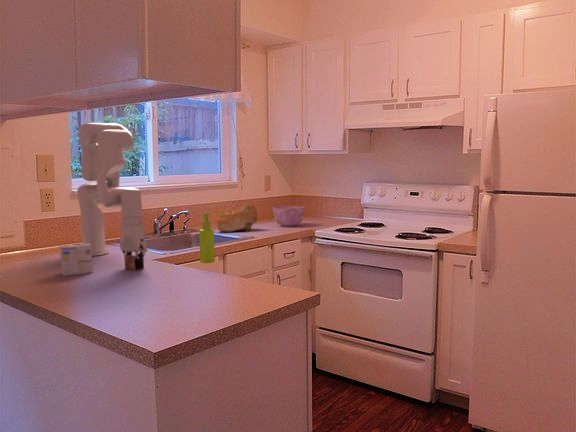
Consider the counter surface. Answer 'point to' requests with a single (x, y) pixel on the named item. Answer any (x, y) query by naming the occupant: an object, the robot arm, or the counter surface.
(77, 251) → the light bulb box
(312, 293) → the counter surface
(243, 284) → the counter surface
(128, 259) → the walnut cube
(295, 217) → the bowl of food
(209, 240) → the soap dispenser
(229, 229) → the rough brown rock
